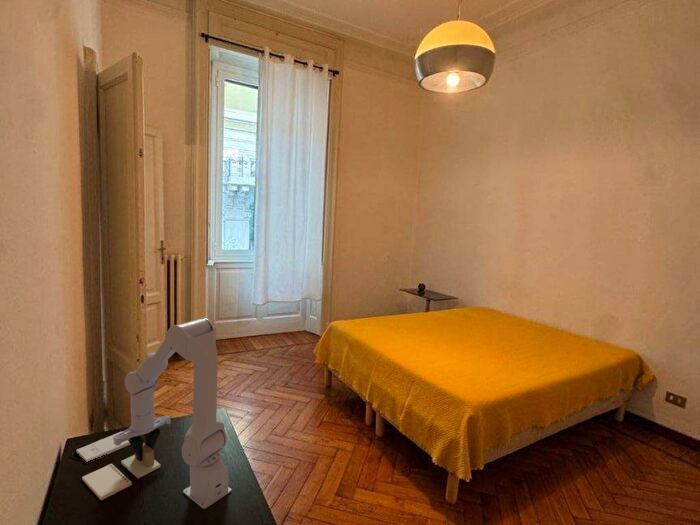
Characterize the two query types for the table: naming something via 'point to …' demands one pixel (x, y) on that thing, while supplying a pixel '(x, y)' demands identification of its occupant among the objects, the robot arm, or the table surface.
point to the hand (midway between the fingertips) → (144, 457)
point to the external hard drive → (100, 448)
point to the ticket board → (106, 481)
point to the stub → (142, 462)
